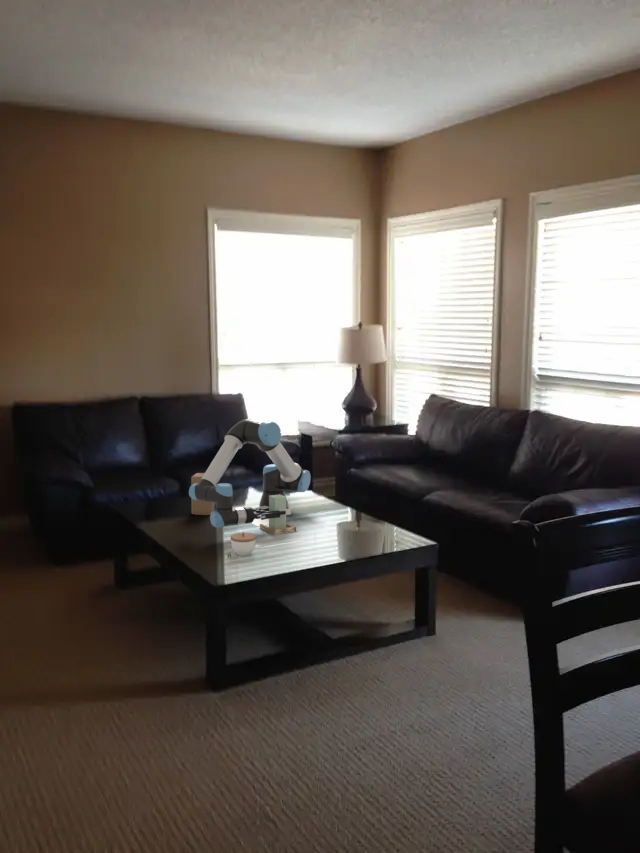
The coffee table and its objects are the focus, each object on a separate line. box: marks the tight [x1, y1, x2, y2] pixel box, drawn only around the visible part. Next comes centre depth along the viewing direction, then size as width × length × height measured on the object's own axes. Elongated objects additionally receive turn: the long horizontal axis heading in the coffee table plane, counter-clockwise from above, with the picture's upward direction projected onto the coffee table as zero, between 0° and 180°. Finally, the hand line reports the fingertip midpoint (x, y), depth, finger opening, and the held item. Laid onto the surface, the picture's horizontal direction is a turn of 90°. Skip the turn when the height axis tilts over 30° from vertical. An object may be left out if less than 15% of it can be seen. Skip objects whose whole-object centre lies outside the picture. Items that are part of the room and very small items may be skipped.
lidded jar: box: [230, 531, 257, 557], centre depth 318 cm, size 11×11×9 cm
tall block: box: [268, 494, 287, 530], centre depth 354 cm, size 6×6×16 cm
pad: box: [251, 518, 269, 527], centre depth 367 cm, size 12×12×1 cm
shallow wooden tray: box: [259, 522, 297, 536], centre depth 354 cm, size 12×13×2 cm
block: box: [190, 472, 216, 516], centre depth 382 cm, size 10×10×20 cm
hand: (286, 509), depth 356 cm, fingers closed on tall block, 6 cm apart
